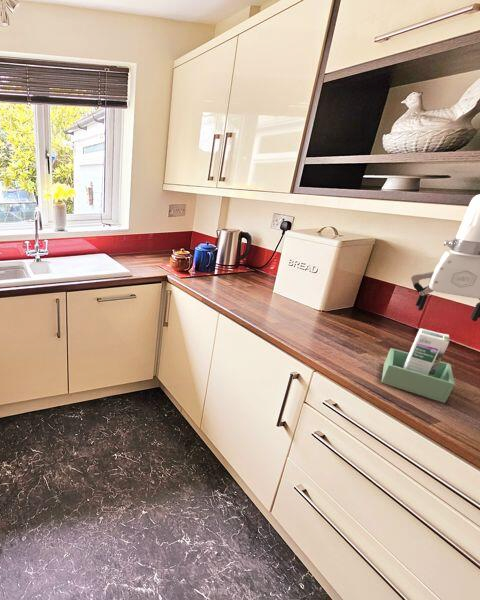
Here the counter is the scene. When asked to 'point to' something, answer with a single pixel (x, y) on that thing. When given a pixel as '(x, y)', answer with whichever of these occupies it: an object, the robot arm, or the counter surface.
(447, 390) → the bin
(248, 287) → the counter surface
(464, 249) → the robot arm
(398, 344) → the counter surface
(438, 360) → the syrup box
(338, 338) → the counter surface
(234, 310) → the counter surface
